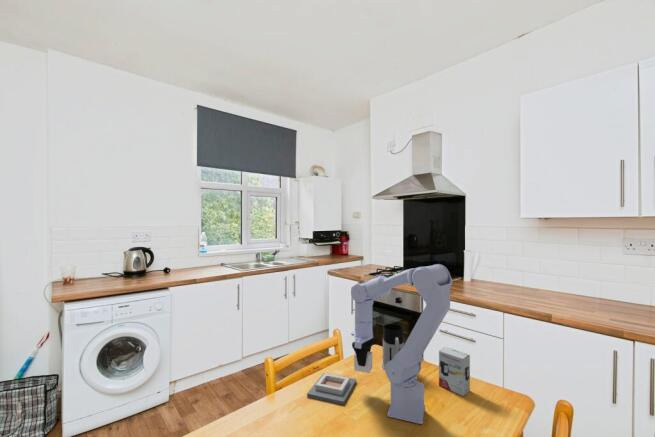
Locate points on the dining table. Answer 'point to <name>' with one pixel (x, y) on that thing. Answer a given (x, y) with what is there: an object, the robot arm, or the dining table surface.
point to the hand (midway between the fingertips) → (363, 362)
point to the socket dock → (332, 388)
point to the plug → (367, 366)
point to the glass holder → (391, 342)
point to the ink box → (454, 370)
